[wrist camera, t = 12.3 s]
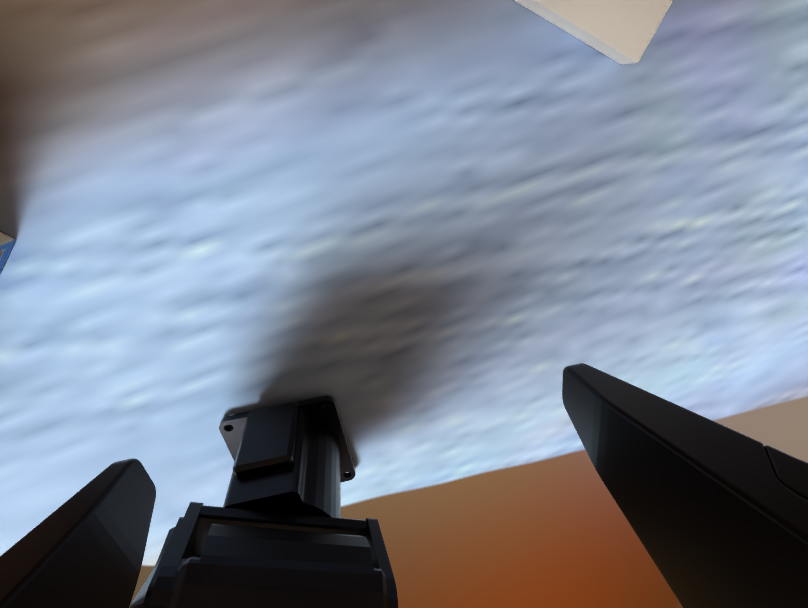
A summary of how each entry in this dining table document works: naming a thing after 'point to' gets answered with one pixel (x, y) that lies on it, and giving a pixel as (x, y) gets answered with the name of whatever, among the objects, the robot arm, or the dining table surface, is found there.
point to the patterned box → (5, 248)
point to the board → (606, 23)
